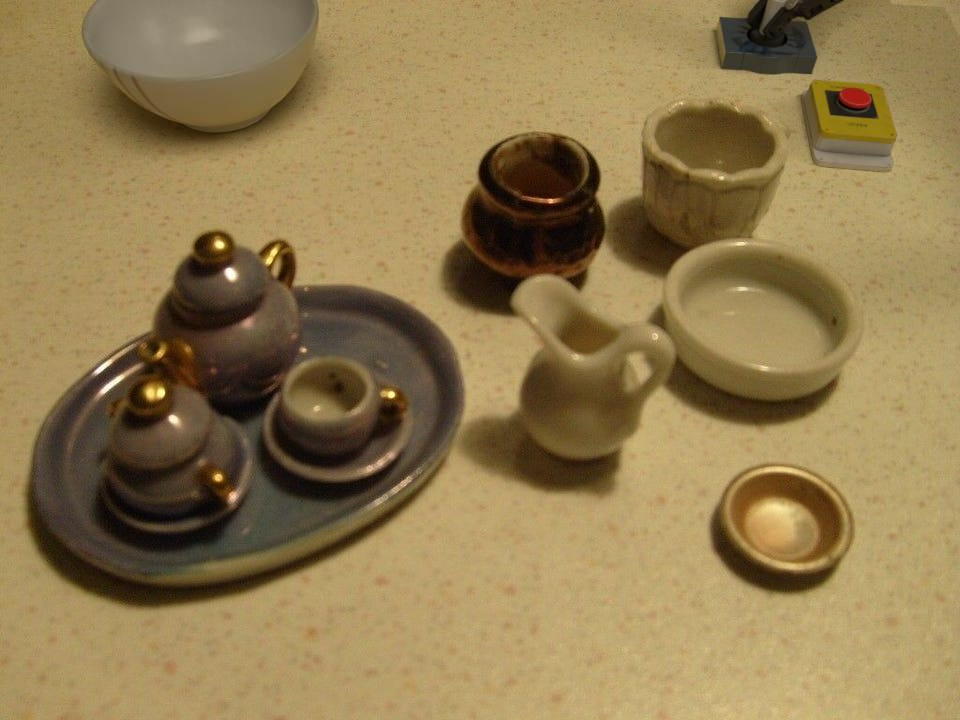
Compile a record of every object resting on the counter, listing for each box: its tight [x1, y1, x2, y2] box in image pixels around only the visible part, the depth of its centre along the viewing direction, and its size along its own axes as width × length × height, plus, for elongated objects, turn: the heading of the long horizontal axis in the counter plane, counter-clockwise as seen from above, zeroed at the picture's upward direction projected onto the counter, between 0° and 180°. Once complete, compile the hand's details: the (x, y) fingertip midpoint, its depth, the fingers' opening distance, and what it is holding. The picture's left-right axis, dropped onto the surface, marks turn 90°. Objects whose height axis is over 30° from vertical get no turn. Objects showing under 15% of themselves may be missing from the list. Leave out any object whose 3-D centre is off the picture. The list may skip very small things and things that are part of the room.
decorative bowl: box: [81, 0, 320, 134], centre depth 104 cm, size 27×27×12 cm
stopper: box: [749, 0, 788, 48], centre depth 115 cm, size 4×4×8 cm
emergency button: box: [800, 79, 898, 173], centre depth 105 cm, size 9×4×15 cm
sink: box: [715, 16, 818, 75], centre depth 117 cm, size 12×10×2 cm
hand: (758, 30), depth 114 cm, fingers closed on stopper, 2 cm apart
